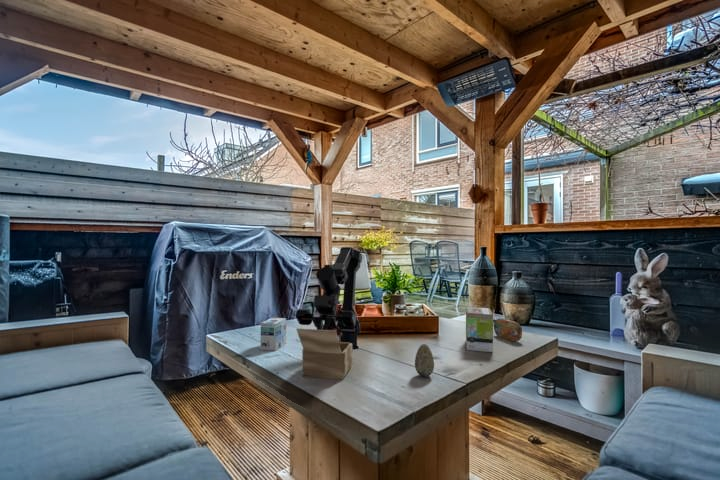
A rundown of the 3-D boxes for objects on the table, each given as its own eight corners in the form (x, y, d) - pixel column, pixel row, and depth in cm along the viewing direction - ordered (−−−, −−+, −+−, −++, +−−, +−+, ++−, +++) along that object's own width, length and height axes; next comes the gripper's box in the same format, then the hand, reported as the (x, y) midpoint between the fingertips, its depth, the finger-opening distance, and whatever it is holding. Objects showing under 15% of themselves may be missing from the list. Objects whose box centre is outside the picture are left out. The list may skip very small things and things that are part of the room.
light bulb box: (275, 351, 135) (275, 323, 135) (259, 350, 136) (259, 322, 136) (286, 343, 145) (286, 317, 145) (272, 342, 147) (272, 317, 147)
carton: (314, 363, 120) (314, 340, 120) (353, 366, 117) (353, 342, 117) (301, 376, 109) (301, 350, 109) (344, 379, 106) (344, 352, 106)
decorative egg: (424, 381, 104) (424, 348, 104) (410, 375, 109) (410, 343, 109) (438, 377, 108) (438, 344, 108) (424, 371, 113) (423, 340, 113)
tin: (493, 335, 158) (493, 316, 158) (499, 334, 159) (498, 316, 159) (517, 344, 144) (517, 323, 144) (523, 343, 145) (523, 323, 145)
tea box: (494, 352, 132) (493, 313, 132) (466, 350, 135) (466, 312, 135) (490, 342, 147) (490, 307, 147) (465, 340, 149) (465, 306, 150)
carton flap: (296, 328, 102) (296, 329, 102) (335, 330, 100) (335, 331, 100) (304, 350, 109) (304, 351, 108) (341, 352, 106) (341, 353, 106)
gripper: (296, 284, 111) (282, 327, 101) (353, 285, 108) (344, 330, 97) (305, 303, 119) (293, 345, 109) (358, 305, 115) (351, 349, 105)
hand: (319, 342), depth 105 cm, fingers closed, pressing on carton flap
